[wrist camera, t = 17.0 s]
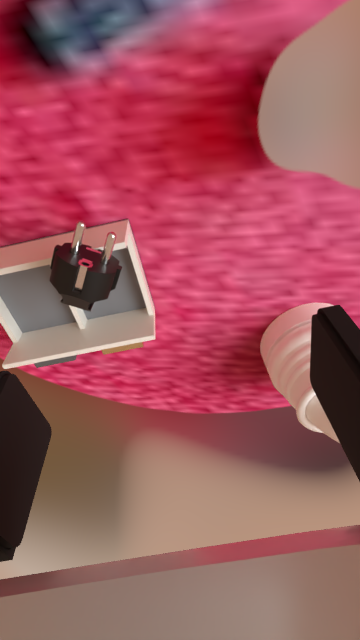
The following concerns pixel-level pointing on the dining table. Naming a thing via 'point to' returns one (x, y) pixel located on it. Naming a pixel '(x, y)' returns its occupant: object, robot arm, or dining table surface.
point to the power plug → (84, 270)
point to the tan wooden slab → (122, 348)
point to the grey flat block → (55, 361)
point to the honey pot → (295, 364)
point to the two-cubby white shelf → (64, 320)
